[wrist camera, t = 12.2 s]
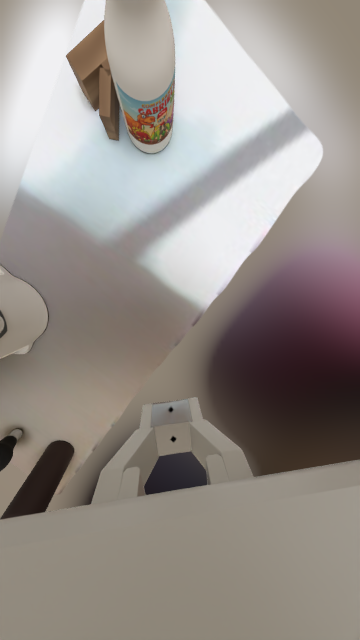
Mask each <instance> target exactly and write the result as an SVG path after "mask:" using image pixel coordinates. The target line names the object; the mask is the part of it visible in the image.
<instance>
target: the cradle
mask: <svg viewBox="0 0 360 640" xmlns="http://www.w3.org/2000/svg"><path fill="white" fill-rule="evenodd" d="M66 57H67V59H68V61H69V64H70V66H71V68H72V70H73V72H74V74H75V76H76V78H77V80H78V83H79V85H80V87H81V89H82V91H83V93H84V94H85V96H86V97H87V99H88V100H89V102H90V103H91V105H92V107H93V108H94V110H95V111H96V110H97V109H98V108H99V116H100V118H101V120H102V123H103V125H104V127H105V129H106V132H107V134H108V136H109V139H113V140H118V141H119V109H120V104H119V100H118V96H117V93H116V89H115V85H114V82H113V78H112V74H111V70H110V65H109V61H108V57H107V51H106V45H105V34H104V20H103V21H102V22H101V23H100V24H99V25H98V26H97V27H96V28H95V29H94V30H93V31H92V32H91V33H90V34H88V35H87V36H86V37H85V38H84V39H83V40H82V41H81V42H80V43H79V44H78V45H77V46H76V47H75V48H74V49H72V50H71V51H70V52H69V53H68V54H67V55H66Z"/></svg>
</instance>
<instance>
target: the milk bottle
mask: <svg viewBox="0 0 360 640" xmlns="http://www.w3.org/2000/svg"><path fill="white" fill-rule="evenodd" d="M104 34H105V45H106V51H107V57H108V61H109V65H110V70H111V74H112V78H113V82H114V85H115V89H116V93H117V96H118V100H119V104H120V107H121V111H122V114H123V118H124V121H125V125H126V128H127V131H128V134H129V137H130V139H131V140H132V142H133V143H134V145H135V146H136V147H137V148H139V149H140V150H142V151H144V152H147V153H157V152H159V151H161V150H162V149H164V148H165V147H166V145H167V144H168V142H169V140H170V138H171V135H172V128H173V109H174V86H175V44H174V35H173V29H172V24H171V19H170V15H169V12H168V9H167V6H166V3H165V0H106V5H105V15H104Z"/></svg>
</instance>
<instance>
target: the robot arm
mask: <svg viewBox="0 0 360 640" xmlns="http://www.w3.org/2000/svg"><path fill="white" fill-rule="evenodd" d="M47 322H48V312H47V308H46V305H45V303H44V301H43V299H42V297H41V296H40V294H39V293H38V292H37V291H36V290H35V289H34V288H33V287H32V286H30V285H29V284H28V283H26V282H24V281H23V280H21V279H18V278H16V277H14V276H12V275H11V274H10V273H9V272H8V271H7V270H6V269H4V268H3V267H2V266H1V265H0V359H1V358H4V357H6V356H8V355H10V354H25V353H28V352H29V351H30V350H31V348H32V345H33V342H34V341H35V340H36V339H37V338H38V337H39V336H40V335H41V334H42V333H43V332H44V330H45V328H46V326H47ZM189 451H192V453H193V454H194V455H195V456H196V458H197V459H198V460H199V462H200V463H201V464H202V466H203V467H204V468H205V470H206V471H207V484H208V485H205V486H200V487H193V488H188V489H181V490H175V491H170V492H163V493H157V494H151V495H145V491H144V485H145V483H146V481H147V479H148V477H149V475H150V473H151V471H152V469H153V467H154V465H155V463H156V461H157V459H158V456H163V455H168V454H173V453H181V452H189ZM0 640H360V460H356V461H349V462H344V463H337V464H331V465H326V466H319V467H314V468H307V469H301V470H295V471H289V472H283V473H277V474H271V475H265V476H259V477H253V475H252V472H251V470H250V468H249V465H248V463H247V461H246V458H245V456H244V453H243V451H242V449H240V448H239V447H238V446H237V445H236V444H235V443H233V442H232V441H231V440H229V438H227V437H226V436H225V435H224V434H222V433H221V432H220V431H219V430H218V429H216V428H215V427H214V426H213V425H212V424H210V423H209V422H208V421H207V420H203V418H202V414H201V410H200V406H199V402H198V399H197V397H195V398H189V399H183V400H176V401H169V402H160V403H153V404H144V405H143V408H142V414H141V421H140V427H139V429H138V430H136V431H135V432H134V433H133V434H132V436H131V437H130V438H129V439H128V440H127V441H126V443H125V444H124V445H123V446H122V447H121V449H120V450H119V451H118V452H117V453H116V455H115V456H114V457H113V458H112V459H111V460H110V462H109V463H108V464H107V465H106V466H105V467H104V469H103V470H102V471H101V474H100V477H99V480H98V484H97V487H96V490H95V493H94V496H93V500H92V503H91V505H85V506H79V507H74V508H67V509H61V510H55V511H49V512H43V513H37V514H31V515H25V516H19V517H13V518H7V519H1V520H0Z"/></svg>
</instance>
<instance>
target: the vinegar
mask: <svg viewBox="0 0 360 640" xmlns="http://www.w3.org/2000/svg"><path fill="white" fill-rule="evenodd" d="M73 453H74V450H73V447H72V446H71V445H70V444H69V443H67V442H64V441H56V442H53V443H51V444H50V445H49V446H48V447H47V449H46V450H45V452H44V453H43V455H42V456H41V458H40V459H39V461H38V462H37V464H36V465H35V467H34V468H33V470H32V471H31V473H30V474H29V476H28V477H27V479H26V480H25V482H24V483H23V485H22V487H21V488H20V490H19V491H18V493H17V494H16V496H15V497H14V499H13V500H12V502H11V503H10V505H9V506H8V508H7V509H6V511H5V512H4V514H3V515H2V517H1V518H0V520H1V519H7V518H13V517H19V516H25V515H31V514H37V513H43V512H45V511H46V509H47V507H48V505H49V503H50V501H51V499H52V497H53V495H54V493H55V491H56V489H57V487H58V485H59V483H60V481H61V479H62V477H63V475H64V473H65V471H66V469H67V467H68V464H69V462H70V460H71V458H72V456H73Z"/></svg>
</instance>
